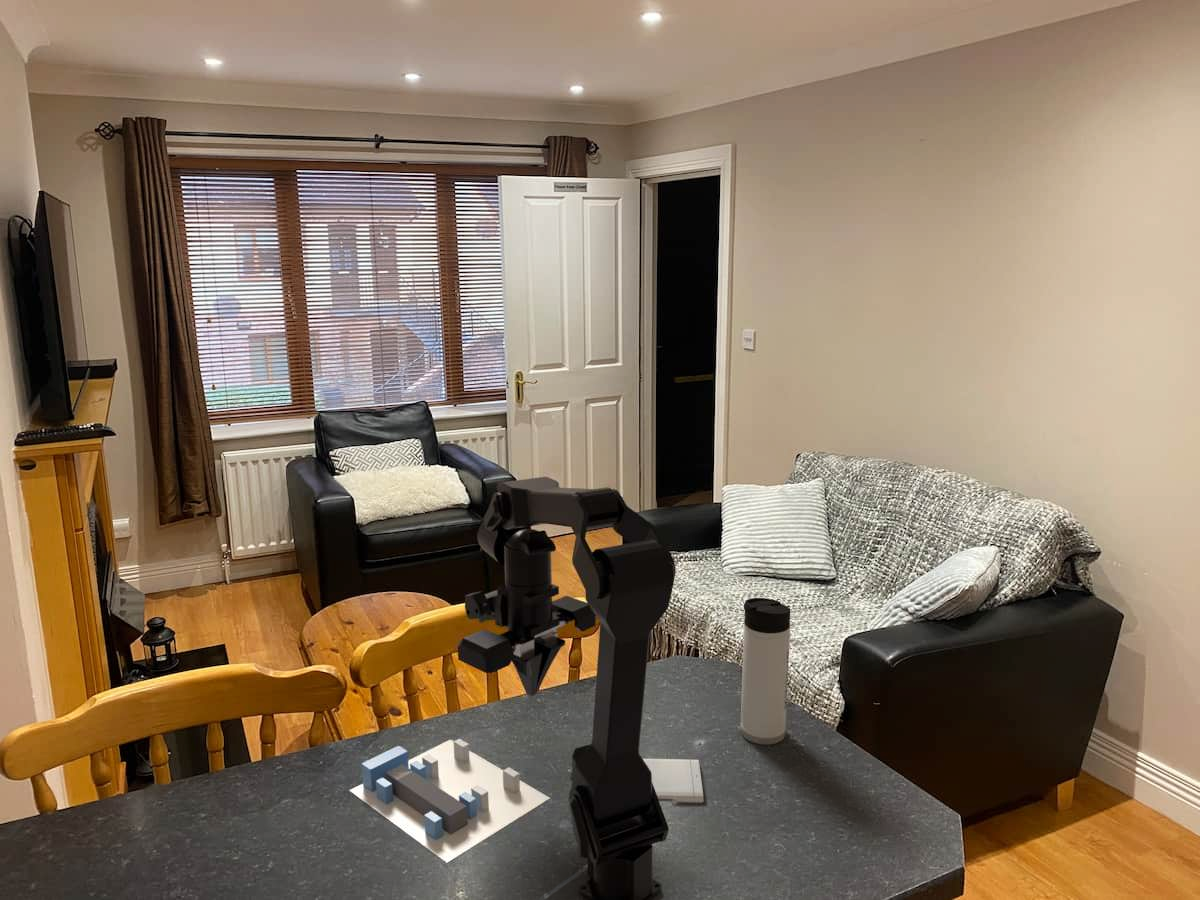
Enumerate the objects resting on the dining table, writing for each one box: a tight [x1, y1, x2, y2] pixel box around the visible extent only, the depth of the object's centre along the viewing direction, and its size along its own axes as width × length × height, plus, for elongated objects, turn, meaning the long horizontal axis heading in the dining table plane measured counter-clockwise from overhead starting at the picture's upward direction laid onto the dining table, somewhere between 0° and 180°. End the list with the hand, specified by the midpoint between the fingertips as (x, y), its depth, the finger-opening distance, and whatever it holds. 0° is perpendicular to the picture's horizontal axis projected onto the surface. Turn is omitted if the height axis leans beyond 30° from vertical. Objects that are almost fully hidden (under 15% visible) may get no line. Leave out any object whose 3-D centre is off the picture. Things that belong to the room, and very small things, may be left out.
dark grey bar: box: [386, 764, 468, 835], centre depth 107 cm, size 13×2×2 cm, turn 47°
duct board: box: [348, 738, 551, 864], centre depth 110 cm, size 20×16×4 cm
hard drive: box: [642, 758, 704, 803], centre depth 113 cm, size 2×8×12 cm
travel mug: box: [740, 597, 791, 746], centre depth 122 cm, size 6×7×20 cm
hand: (531, 694), depth 111 cm, fingers closed
